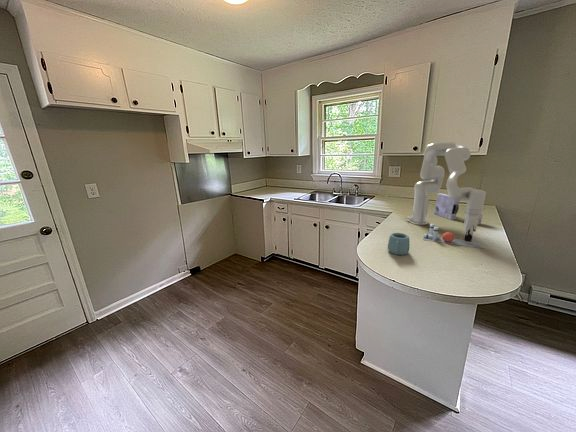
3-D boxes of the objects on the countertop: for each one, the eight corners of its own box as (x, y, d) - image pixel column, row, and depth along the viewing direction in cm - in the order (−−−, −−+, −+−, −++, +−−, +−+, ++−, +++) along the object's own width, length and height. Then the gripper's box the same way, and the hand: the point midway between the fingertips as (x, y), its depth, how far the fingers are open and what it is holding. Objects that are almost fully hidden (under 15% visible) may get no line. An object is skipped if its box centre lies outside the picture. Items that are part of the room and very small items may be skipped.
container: (475, 225, 174) (479, 208, 170) (463, 222, 181) (467, 205, 177) (481, 223, 177) (484, 206, 174) (469, 221, 184) (472, 204, 180)
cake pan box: (457, 219, 188) (461, 197, 183) (451, 220, 187) (455, 198, 182) (438, 213, 206) (441, 193, 201) (433, 213, 205) (436, 193, 200)
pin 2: (432, 240, 149) (434, 227, 147) (431, 239, 151) (433, 226, 149) (436, 241, 148) (438, 228, 145) (436, 240, 150) (438, 227, 147)
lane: (423, 239, 151) (423, 239, 151) (423, 234, 159) (423, 234, 159) (483, 248, 136) (483, 248, 136) (480, 242, 145) (480, 242, 144)
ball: (447, 234, 142) (457, 239, 142) (446, 228, 147) (455, 233, 146) (440, 240, 146) (449, 245, 146) (439, 234, 151) (448, 239, 150)
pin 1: (428, 237, 154) (430, 224, 152) (428, 236, 157) (430, 223, 154) (432, 237, 153) (434, 225, 151) (432, 236, 155) (434, 224, 153)
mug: (406, 261, 124) (408, 243, 121) (383, 256, 130) (385, 239, 127) (409, 250, 136) (412, 233, 134) (389, 246, 142) (390, 230, 139)
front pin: (439, 240, 150) (423, 238, 153) (439, 238, 152) (423, 236, 155) (440, 237, 148) (424, 235, 152) (439, 235, 150) (424, 233, 154)
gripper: (464, 207, 146) (458, 236, 151) (467, 213, 134) (461, 244, 139) (479, 209, 143) (473, 238, 148) (484, 215, 130) (477, 246, 135)
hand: (467, 241), depth 143 cm, fingers closed
